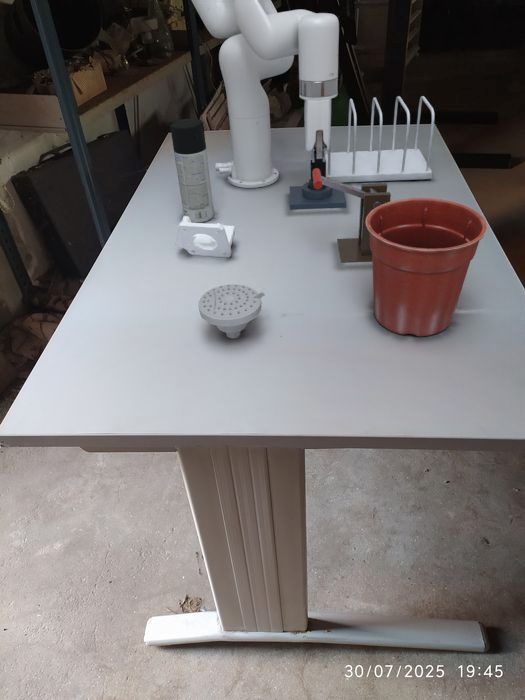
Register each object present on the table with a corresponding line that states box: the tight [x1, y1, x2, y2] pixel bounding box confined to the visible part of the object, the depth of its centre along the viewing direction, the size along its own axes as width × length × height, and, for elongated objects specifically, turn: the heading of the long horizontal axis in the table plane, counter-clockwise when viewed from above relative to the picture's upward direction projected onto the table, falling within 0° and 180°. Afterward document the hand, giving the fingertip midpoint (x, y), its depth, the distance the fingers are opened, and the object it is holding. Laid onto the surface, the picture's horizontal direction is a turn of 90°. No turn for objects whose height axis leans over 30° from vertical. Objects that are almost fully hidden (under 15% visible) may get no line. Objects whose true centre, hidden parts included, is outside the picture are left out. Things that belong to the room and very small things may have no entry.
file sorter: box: [325, 95, 435, 184], centre depth 130 cm, size 25×17×16 cm
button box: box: [289, 181, 347, 211], centre depth 120 cm, size 12×10×4 cm
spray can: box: [169, 118, 215, 223], centre depth 112 cm, size 7×7×20 cm
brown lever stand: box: [336, 182, 392, 264], centre depth 98 cm, size 12×9×13 cm
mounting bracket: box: [174, 215, 236, 258], centre depth 103 cm, size 12×6×11 cm, turn 76°
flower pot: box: [366, 197, 488, 337], centre depth 81 cm, size 16×16×16 cm
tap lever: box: [312, 168, 381, 199], centre depth 94 cm, size 13×6×2 cm, turn 88°
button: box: [308, 178, 325, 190], centre depth 118 cm, size 4×4×2 cm
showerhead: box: [197, 284, 266, 339], centre depth 82 cm, size 9×7×10 cm
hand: (318, 179), depth 117 cm, fingers closed
